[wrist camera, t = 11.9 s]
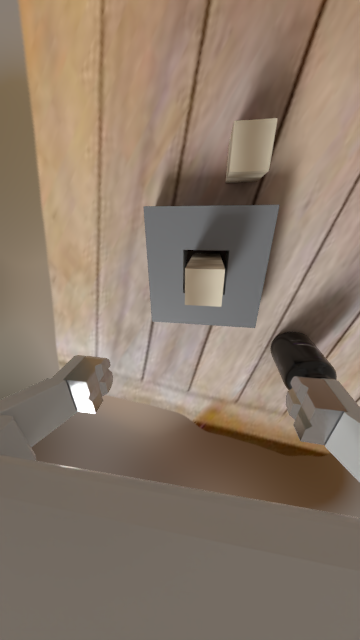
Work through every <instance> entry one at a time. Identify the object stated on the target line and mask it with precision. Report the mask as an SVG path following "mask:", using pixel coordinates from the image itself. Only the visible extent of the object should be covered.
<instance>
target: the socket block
mask: <svg viewBox="0 0 360 640" xmlns="http://www.w3.org/2000/svg"><path fill="white" fill-rule="evenodd" d="M278 210H279V205H224V206H144V219H145V232H146V246H147V259H148V273H149V286H150V300H151V313H152V321H155V322H170V323H186V324H201V325H217V326H232V327H248V328H255V326H256V321H257V316H258V311H259V305H260V300H261V295H262V290H263V285H264V280H265V275H266V270H267V265H268V260H269V255H270V250H271V245H272V240H273V235H274V230H275V225H276V220H277V215H278ZM187 250H226V258H225V267H224V268H225V276H224V286H223V296H222V305H221V307H216V306H196V305H185V268H186V266H187Z"/></svg>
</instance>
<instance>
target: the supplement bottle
mask: <svg viewBox="0 0 360 640" xmlns="http://www.w3.org/2000/svg"><path fill="white" fill-rule="evenodd" d="M271 354H272V357H273V359H274V361H275V364H276V366H277V368H278V370H279V373H280V375H281V377H282V380H283V382H284V384H285V386H286V387H287V388H288V390H290V389H292V385H291V380H292V378H293V377H294V376H298V377H309V378H320V379H321V378H324V379H335V380H336V378H337V376H336V371H335V369H334V368H333V366H332V365H331V364H330V363H329V362H328V360H327V359H326V358H325V357H324V355H323V354H322V353H321V352H320V351H319V349H318V348H317V347H316V346H315V345H314V343H313V342H312V341H311V340H310V339H309V338H308V337H307V336H306V335H304V334H302V333H299V332H287V333H283V334H281V335H279V336H278V337H277V338H276V339H275V340H274V341H273V342H272V344H271Z"/></svg>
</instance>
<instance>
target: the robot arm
mask: <svg viewBox="0 0 360 640" xmlns="http://www.w3.org/2000/svg"><path fill="white" fill-rule="evenodd" d="M109 367H110V361H109V359H107V358H100V357H91V356H81V355H77V356H74V357H73V358H72V359H71V360H70V361H69V362H68V363H67V364H66V365H65V366H64V367H63V368H62V369H61V370H60V371H58V372H57V373H56V374H55V375H54V376H53V377H52V378H51V379H48V378H47V379H46V380H43V381H41V382H39V383H36V384H34V385H32V386H30V387H28V388H25V389H23V390H21V391H19V392H17V393H15V394H12V395H10V396H8V397H5V398H3V399H1V400H0V640H360V518H359V517H353V516H347V515H341V514H336V513H330V512H325V511H318V510H313V509H307V508H302V507H296V506H291V505H284V504H279V503H273V502H268V501H262V500H257V499H251V498H245V497H240V496H234V495H228V494H223V493H217V492H211V491H206V490H200V489H194V488H189V487H183V486H177V485H171V484H165V483H160V482H154V481H148V480H143V479H137V478H131V477H126V476H120V475H114V474H109V473H103V472H97V471H91V470H86V469H80V468H74V467H69V466H63V465H57V464H51V463H45V462H40V461H35V460H36V455H35V454H34V452H33V450H32V449H31V447H32V446H34V445H35V444H36V443H37V442H39V441H40V440H41V439H43V438H44V437H45V436H47V435H48V434H49V433H51V432H52V431H53V430H55V429H56V428H57V427H59V426H60V425H61V424H63V423H64V422H65V421H66V420H68V419H69V418H71V417H72V416H73V415H75V414H76V413H77V412H86V413H96V412H97V410H98V408H99V407H100V405H101V403H102V401H103V398H102V396H104V395H105V394H107V393H108V392H109V390H110V388H111V386H112V382H113V375H112V372H111V371H110V370H109V369H108V368H109ZM291 385H292V389H290V390H289V391H288V392H287V395H286V406H287V410H288V413H289V415H290V416H291V417H293V418H294V419H295V422H294V427H295V430H296V432H297V434H298V437H299V439H300V441H302V442H309V443H315V444H321V445H325V447H326V448H327V449H328V450H329V451H330V452H331V453H332V454H333V455H334V456H335V457H336V458H337V459H338V460H339V461H340V462H341V464H342V465H343V466H344V467H345V468H346V469H347V470H348V471H349V472H350V473H351V474H352V475H353V476H354V477H355V478H356V479H357V480H358V481H359V482H360V407H359V406H358V404H357V403H356V402H355V401H354V400H353V398H352V397H351V396H350V395H349V393H348V392H347V391H346V390H345V389H344V387H343V386H342V385H341V384H340V382H339V381H337V380H335V379H324V378H321V379H320V378H309V377H298V376H294V377H293V378H292V380H291Z"/></svg>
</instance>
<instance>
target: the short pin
mask: <svg viewBox="0 0 360 640" xmlns="http://www.w3.org/2000/svg"><path fill="white" fill-rule="evenodd" d="M277 119H278V118H271V119H255V120H240V121H234V124H233V128H232V132H231V137H230V141H229V148H228V159H227V171H226V182H225V183H231V182H257V181H258V180H259V179H260V178H261V177H262V176H264V175H265V174H266V173H267V172H268V171H269V167H270V161H271V155H272V149H273V143H274V137H275V131H276V125H277Z"/></svg>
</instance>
